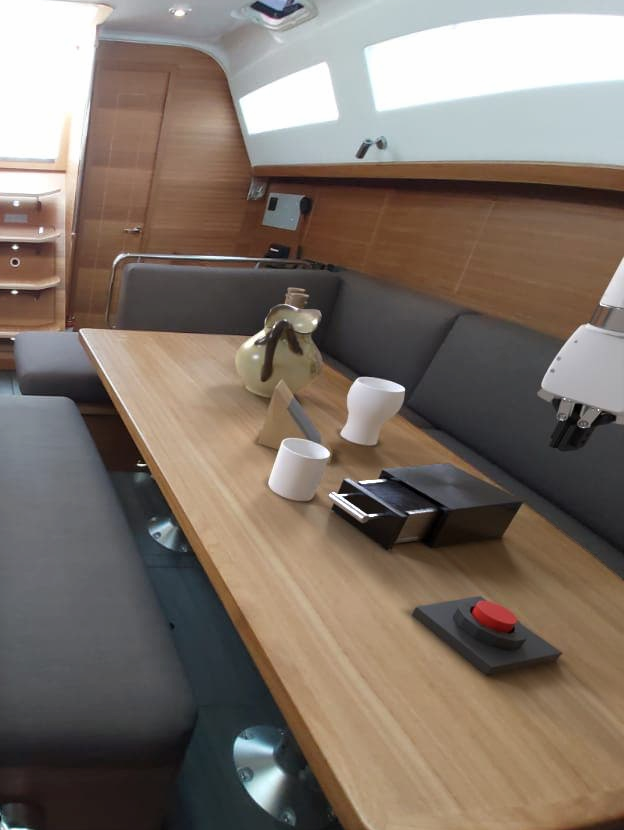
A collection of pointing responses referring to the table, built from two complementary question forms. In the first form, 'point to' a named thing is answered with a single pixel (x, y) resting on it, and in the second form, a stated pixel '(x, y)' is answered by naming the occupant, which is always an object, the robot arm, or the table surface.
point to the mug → (298, 469)
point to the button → (494, 616)
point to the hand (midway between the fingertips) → (563, 448)
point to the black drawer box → (458, 503)
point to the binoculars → (296, 298)
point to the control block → (484, 638)
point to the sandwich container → (288, 421)
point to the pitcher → (281, 352)
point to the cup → (371, 408)
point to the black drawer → (386, 511)
